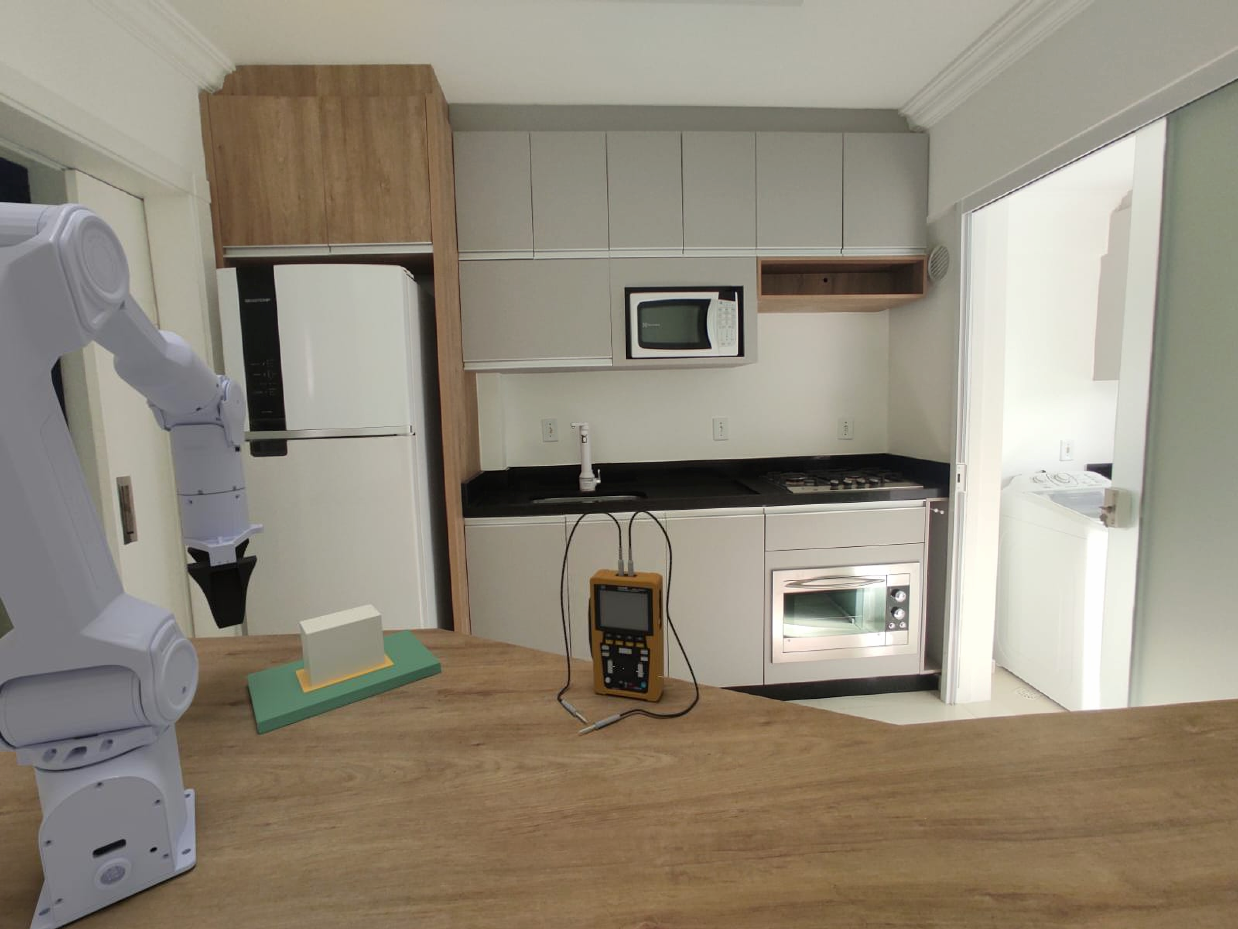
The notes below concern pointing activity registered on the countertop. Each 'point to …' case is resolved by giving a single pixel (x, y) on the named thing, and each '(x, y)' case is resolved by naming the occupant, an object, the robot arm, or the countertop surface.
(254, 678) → the header board
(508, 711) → the countertop surface
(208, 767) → the countertop surface
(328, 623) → the block
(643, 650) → the multimeter
